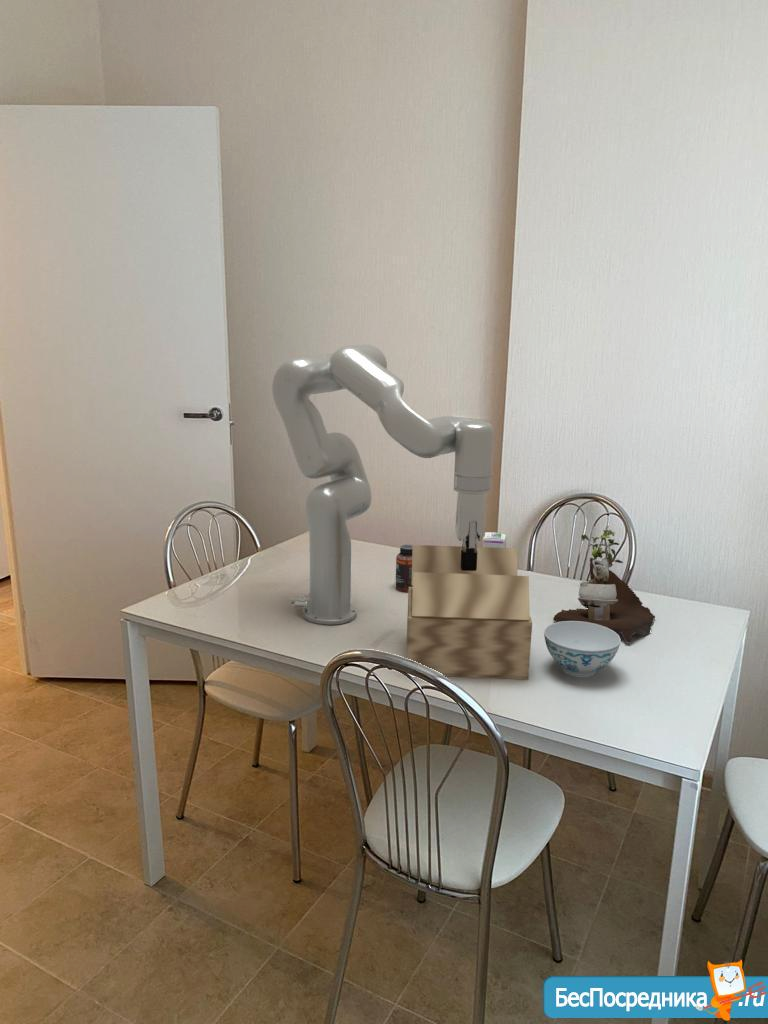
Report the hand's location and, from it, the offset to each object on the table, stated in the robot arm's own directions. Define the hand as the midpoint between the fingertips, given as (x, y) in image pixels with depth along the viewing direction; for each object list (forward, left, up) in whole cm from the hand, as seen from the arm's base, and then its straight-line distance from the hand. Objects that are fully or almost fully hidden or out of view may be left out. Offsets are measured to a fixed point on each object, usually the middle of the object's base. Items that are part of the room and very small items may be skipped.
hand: (468, 569), depth 171 cm
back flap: (0, +7, -2) cm, 8 cm away
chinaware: (+23, -8, -19) cm, 30 cm away
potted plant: (+35, +20, -19) cm, 44 cm away
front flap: (0, -10, -2) cm, 10 cm away
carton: (0, -4, -18) cm, 19 cm away
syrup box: (+10, +39, -19) cm, 45 cm away
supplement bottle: (-12, +37, -19) cm, 43 cm away
